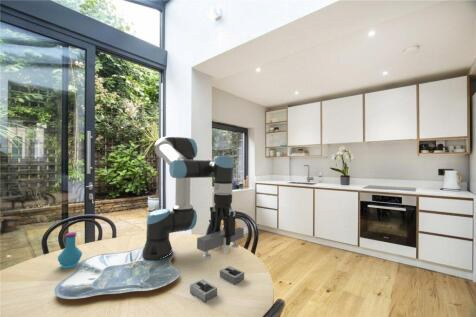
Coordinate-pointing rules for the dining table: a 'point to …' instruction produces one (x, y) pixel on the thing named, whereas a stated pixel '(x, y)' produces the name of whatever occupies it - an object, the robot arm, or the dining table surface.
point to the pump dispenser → (209, 229)
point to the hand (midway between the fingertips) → (221, 250)
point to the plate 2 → (232, 275)
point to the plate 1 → (197, 292)
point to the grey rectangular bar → (217, 241)
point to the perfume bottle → (70, 252)
